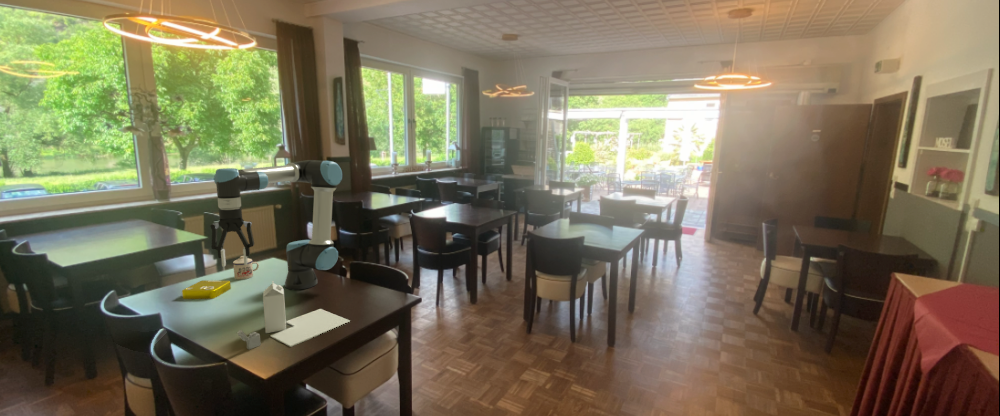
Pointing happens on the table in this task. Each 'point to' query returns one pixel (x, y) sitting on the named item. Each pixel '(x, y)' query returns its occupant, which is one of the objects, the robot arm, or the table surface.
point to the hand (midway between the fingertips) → (235, 264)
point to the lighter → (250, 339)
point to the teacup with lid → (243, 268)
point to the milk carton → (274, 308)
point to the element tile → (206, 289)
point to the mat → (308, 327)
